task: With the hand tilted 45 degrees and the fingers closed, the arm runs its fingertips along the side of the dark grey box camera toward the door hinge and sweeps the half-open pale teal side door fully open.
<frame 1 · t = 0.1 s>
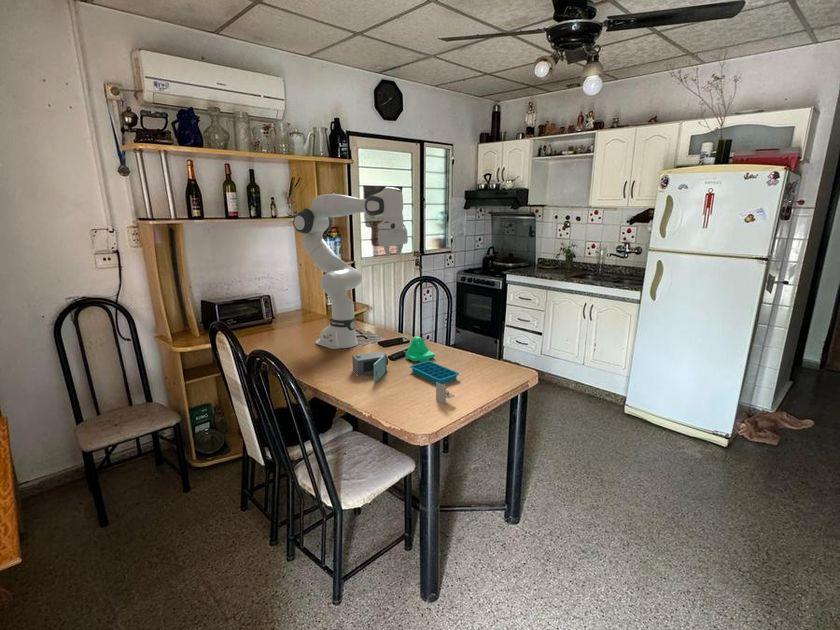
hand: (393, 255, 201), 48 cm above the table, tool pointing down, fingers open, 8 cm apart
ice cube tray: (433, 376, 186), on the table
architectural model: (442, 403, 162), on the table
camera mount: (420, 359, 207), on the table
action camera: (385, 372, 189), on the table
side door: (380, 368, 182), point 4 cm above the table, hinge at 48.0°
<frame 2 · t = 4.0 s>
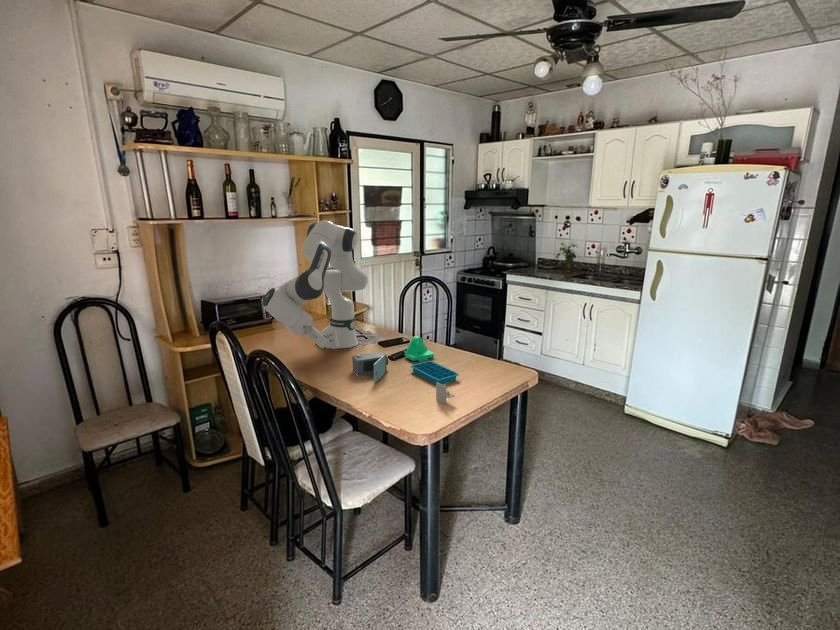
hand: (328, 346, 167), 18 cm above the table, tool tilted 45°, fingers closed
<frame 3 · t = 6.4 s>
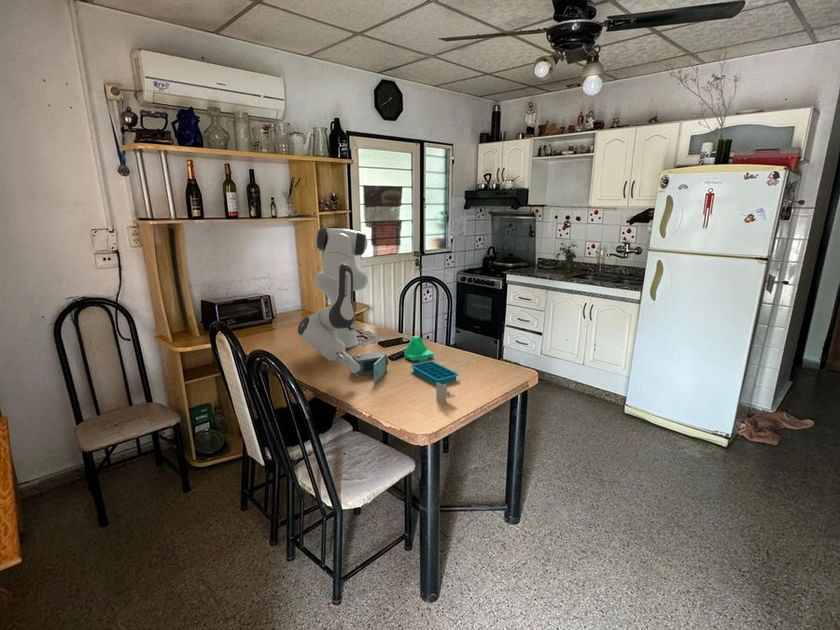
hand: (358, 369, 175), 6 cm above the table, tool tilted 45°, fingers closed
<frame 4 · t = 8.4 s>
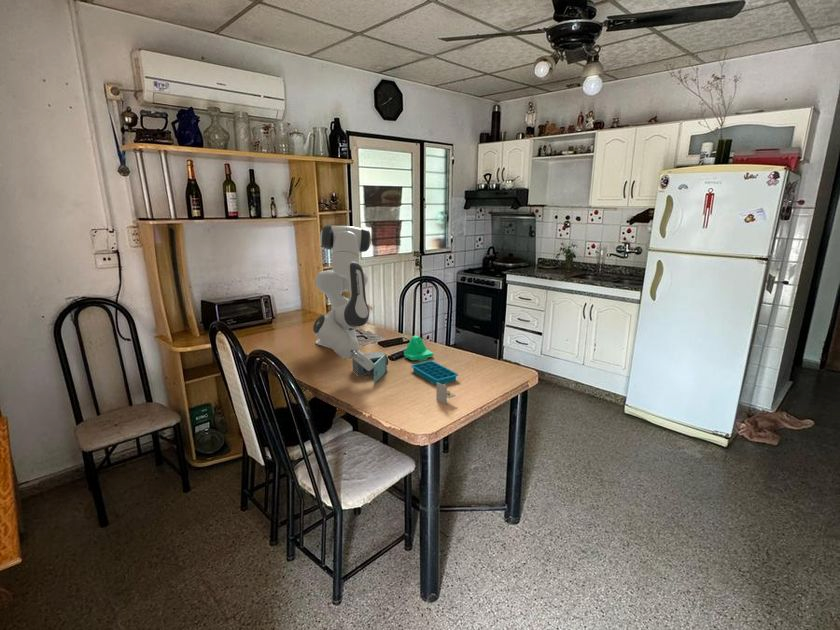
hand: (371, 367, 178), 6 cm above the table, tool tilted 45°, fingers closed
side door: (380, 368, 182), point 4 cm above the table, hinge at 48.0°, touching gripper
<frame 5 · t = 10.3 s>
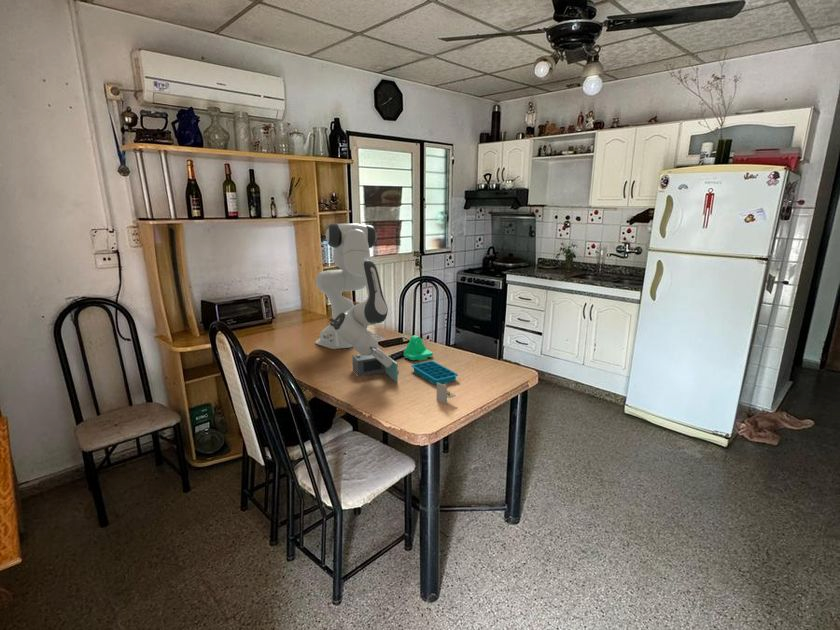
hand: (389, 364, 181), 6 cm above the table, tool tilted 45°, fingers closed, pressing on side door
side door: (391, 367, 183), point 4 cm above the table, hinge at 89.9°, touching gripper
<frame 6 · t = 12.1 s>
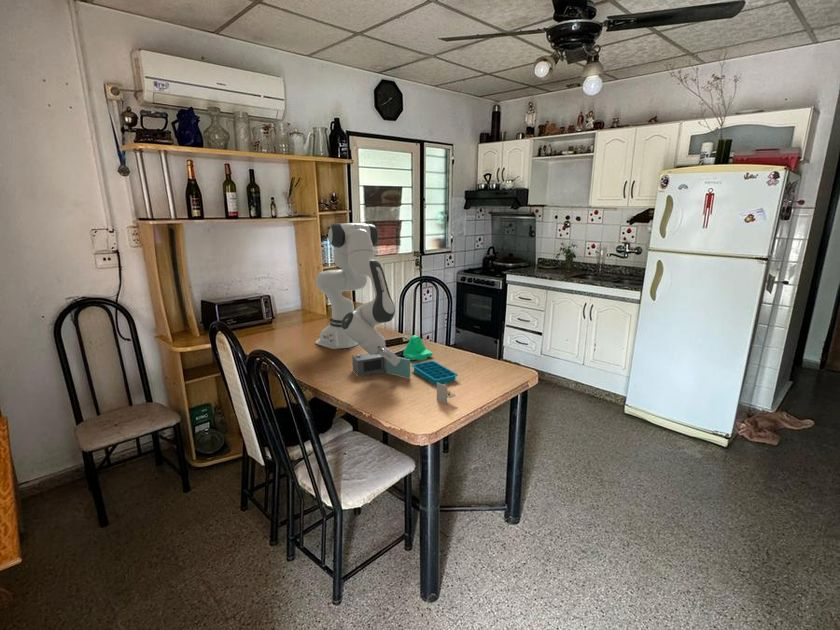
hand: (396, 363, 182), 6 cm above the table, tool tilted 45°, fingers closed
side door: (397, 365, 185), point 4 cm above the table, hinge at 121.2°, touching gripper
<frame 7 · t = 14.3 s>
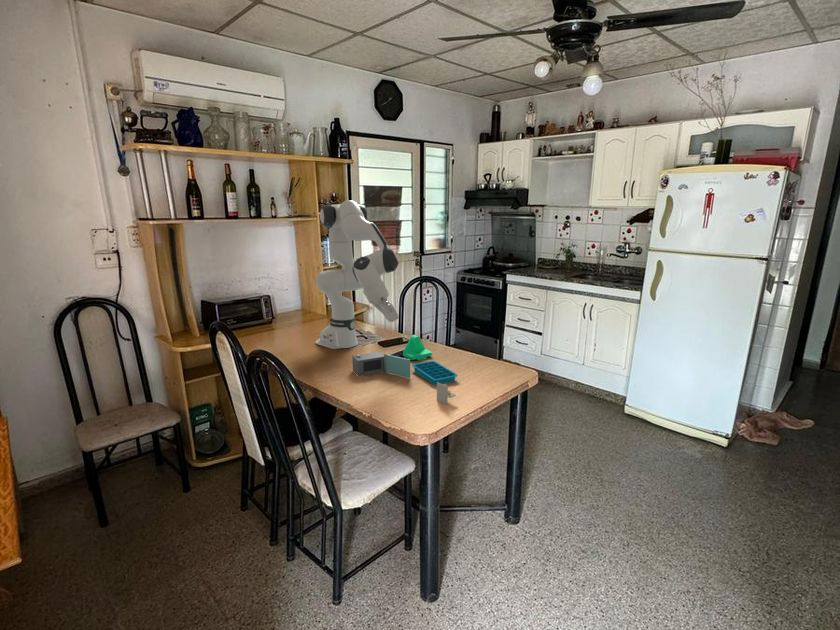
hand: (389, 319, 184), 23 cm above the table, tool tilted 30°, fingers closed
side door: (397, 365, 185), point 4 cm above the table, hinge at 121.2°
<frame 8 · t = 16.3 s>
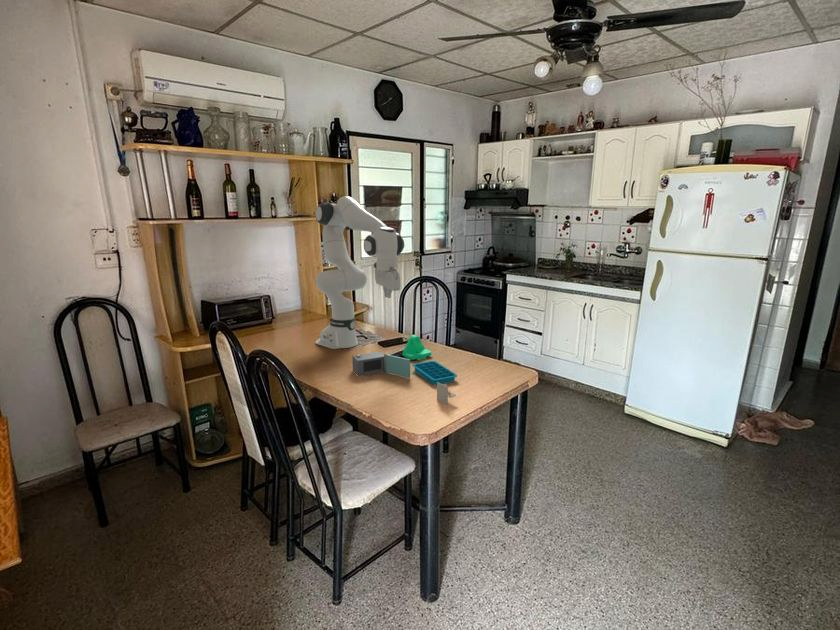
hand: (387, 297, 191), 31 cm above the table, tool pointing down, fingers closed
at the end: side door at +121° (first picture: +48°) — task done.
